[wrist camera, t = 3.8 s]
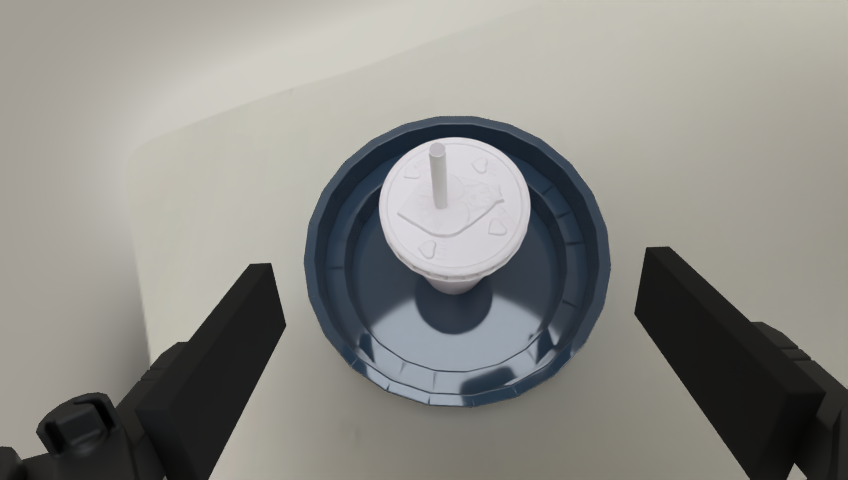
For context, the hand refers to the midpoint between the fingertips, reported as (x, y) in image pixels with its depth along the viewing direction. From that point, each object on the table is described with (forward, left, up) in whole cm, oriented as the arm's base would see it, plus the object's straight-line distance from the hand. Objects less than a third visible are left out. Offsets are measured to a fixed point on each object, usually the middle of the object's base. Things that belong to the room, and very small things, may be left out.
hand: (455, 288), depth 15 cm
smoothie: (+3, -3, -11) cm, 12 cm away
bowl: (+3, -3, -11) cm, 12 cm away
